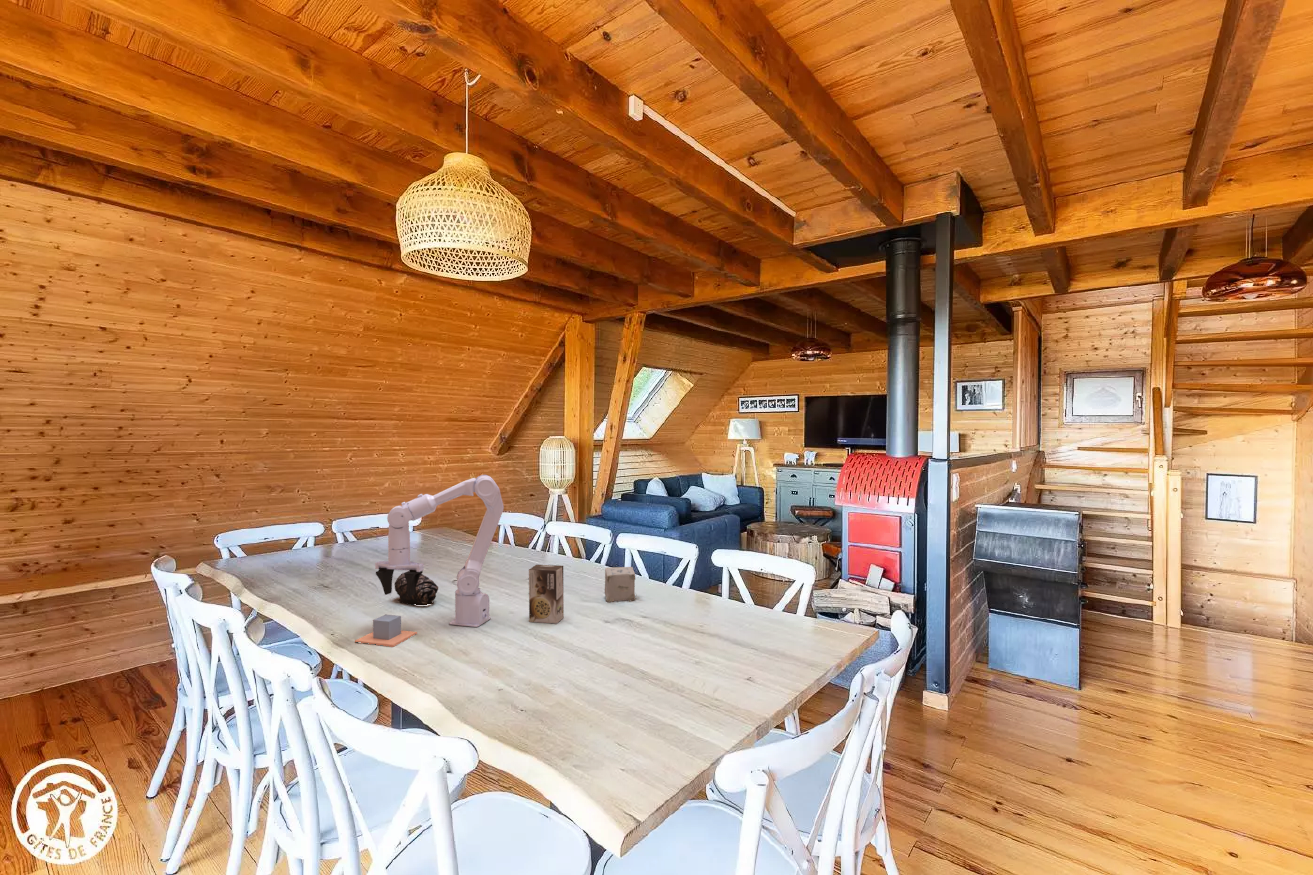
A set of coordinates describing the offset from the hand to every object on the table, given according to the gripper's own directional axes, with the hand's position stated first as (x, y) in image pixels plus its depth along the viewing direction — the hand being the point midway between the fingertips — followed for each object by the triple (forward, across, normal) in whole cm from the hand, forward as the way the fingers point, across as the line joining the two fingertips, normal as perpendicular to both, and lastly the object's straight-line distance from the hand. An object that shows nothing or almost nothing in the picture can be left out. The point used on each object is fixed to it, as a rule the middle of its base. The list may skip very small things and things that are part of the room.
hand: (399, 594), depth 169 cm
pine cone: (+10, -11, +24) cm, 28 cm away
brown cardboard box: (+10, +54, +43) cm, 70 cm away
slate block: (+9, +2, -8) cm, 12 cm away
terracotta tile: (+10, +2, -8) cm, 13 cm away
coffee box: (+10, +38, +18) cm, 43 cm away
